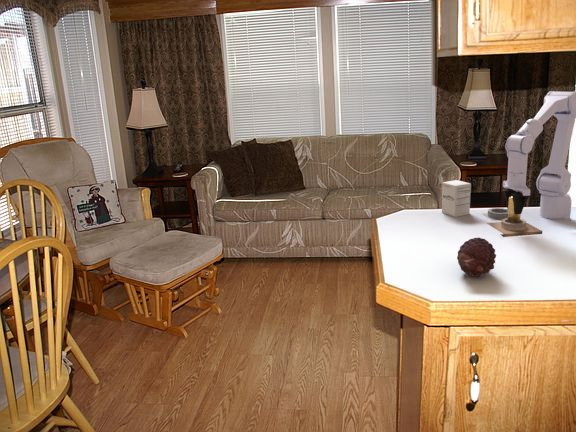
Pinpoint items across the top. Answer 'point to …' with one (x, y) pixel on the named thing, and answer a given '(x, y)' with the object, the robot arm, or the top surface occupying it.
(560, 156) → the robot arm
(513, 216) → the brass peg
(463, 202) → the supplement box
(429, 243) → the top surface
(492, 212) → the spline stand
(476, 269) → the pine cone
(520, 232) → the hub board
